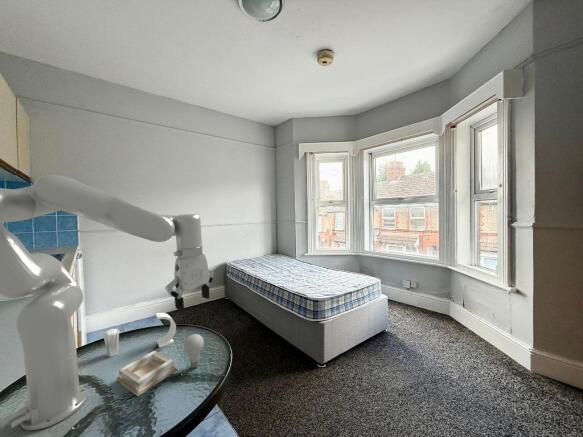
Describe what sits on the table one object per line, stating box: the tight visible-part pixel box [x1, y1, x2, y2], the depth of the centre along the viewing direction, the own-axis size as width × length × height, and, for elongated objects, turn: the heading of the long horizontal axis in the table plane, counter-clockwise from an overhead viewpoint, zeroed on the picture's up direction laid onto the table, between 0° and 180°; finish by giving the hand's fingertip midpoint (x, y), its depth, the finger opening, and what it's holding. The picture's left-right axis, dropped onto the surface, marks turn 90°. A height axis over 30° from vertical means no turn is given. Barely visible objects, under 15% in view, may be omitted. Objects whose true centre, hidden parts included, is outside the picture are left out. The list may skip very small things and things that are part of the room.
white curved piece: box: [155, 312, 177, 349], centre depth 93 cm, size 5×6×12 cm
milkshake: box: [103, 328, 120, 358], centre depth 86 cm, size 4×5×10 cm
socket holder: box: [116, 350, 177, 397], centre depth 75 cm, size 12×12×4 cm
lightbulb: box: [183, 333, 205, 369], centre depth 79 cm, size 6×6×11 cm
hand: (193, 303), depth 78 cm, fingers open, 9 cm apart
